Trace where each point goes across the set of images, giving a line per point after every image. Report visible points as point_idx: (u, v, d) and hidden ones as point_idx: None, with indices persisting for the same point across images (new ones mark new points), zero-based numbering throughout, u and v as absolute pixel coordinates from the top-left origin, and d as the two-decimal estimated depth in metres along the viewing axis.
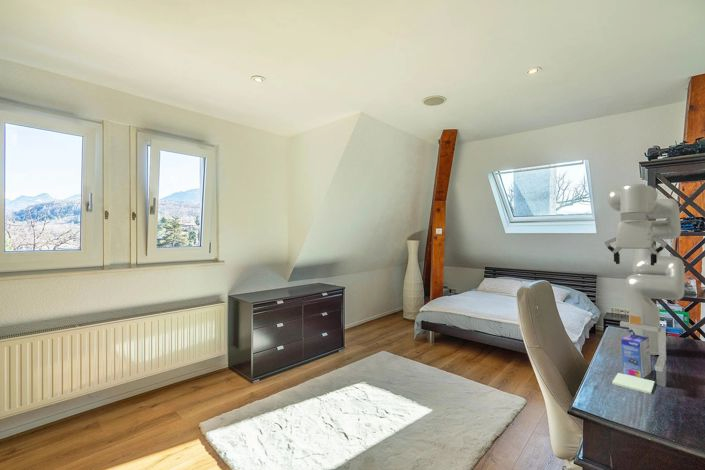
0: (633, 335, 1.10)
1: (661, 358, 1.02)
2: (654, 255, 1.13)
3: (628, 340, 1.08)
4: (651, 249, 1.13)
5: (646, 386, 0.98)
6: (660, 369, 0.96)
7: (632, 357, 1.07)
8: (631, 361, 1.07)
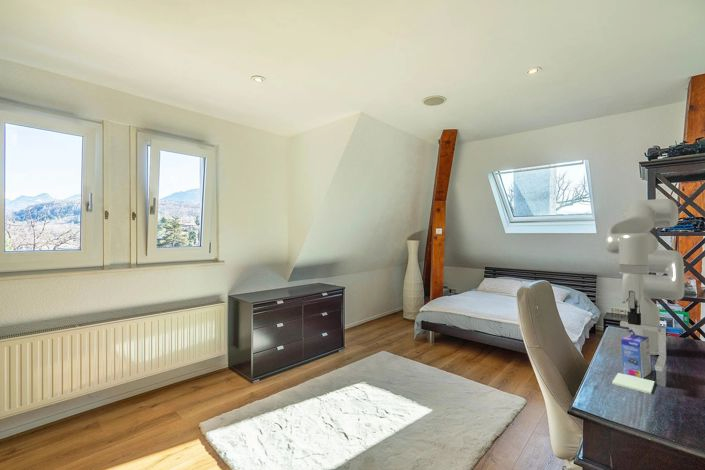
0: (633, 335, 1.10)
1: (661, 358, 1.03)
2: None
3: (628, 340, 1.08)
4: (640, 306, 1.08)
5: (646, 386, 0.98)
6: (660, 369, 0.96)
7: (632, 357, 1.07)
8: (631, 361, 1.07)
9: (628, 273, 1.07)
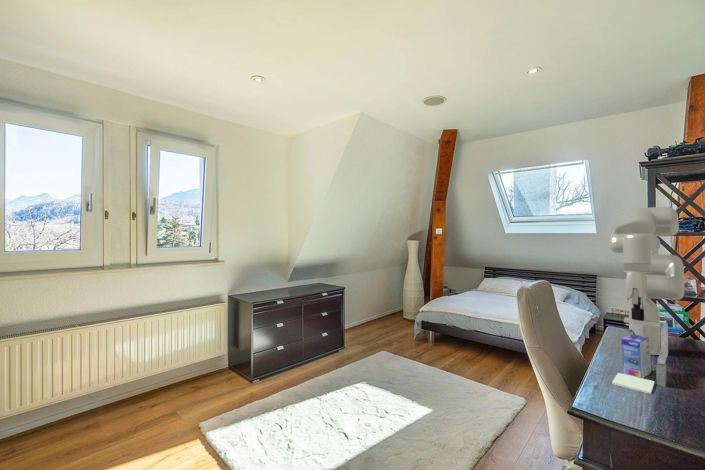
0: (633, 335, 1.10)
1: (663, 352, 1.08)
2: None
3: (628, 340, 1.08)
4: (643, 303, 1.14)
5: (646, 386, 0.98)
6: (662, 362, 1.01)
7: (632, 357, 1.07)
8: (631, 361, 1.07)
9: (632, 271, 1.12)
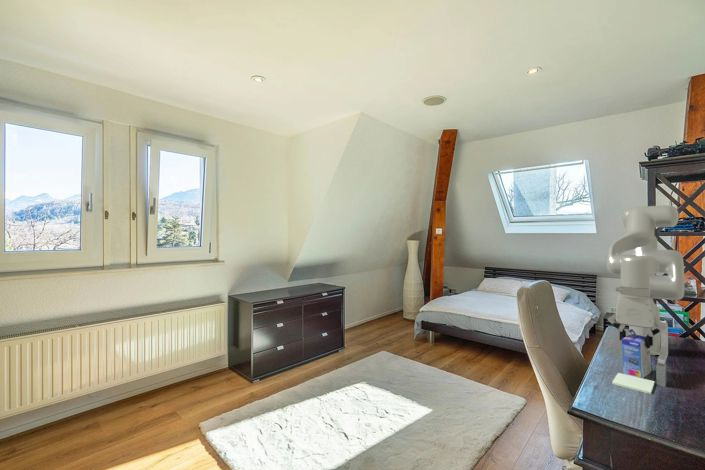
0: (634, 335, 1.10)
1: (663, 352, 1.08)
2: None
3: (629, 340, 1.08)
4: None
5: (646, 386, 0.98)
6: (662, 362, 1.01)
7: (632, 357, 1.07)
8: (632, 361, 1.07)
9: (649, 296, 1.07)
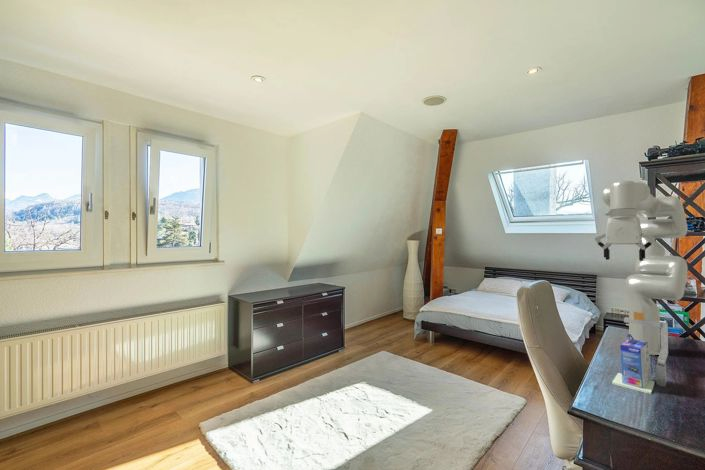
0: (632, 340, 1.02)
1: (663, 352, 1.08)
2: None
3: (628, 346, 1.00)
4: None
5: (646, 386, 0.98)
6: (662, 362, 1.01)
7: (632, 364, 0.99)
8: (631, 369, 0.99)
9: (635, 216, 1.17)
